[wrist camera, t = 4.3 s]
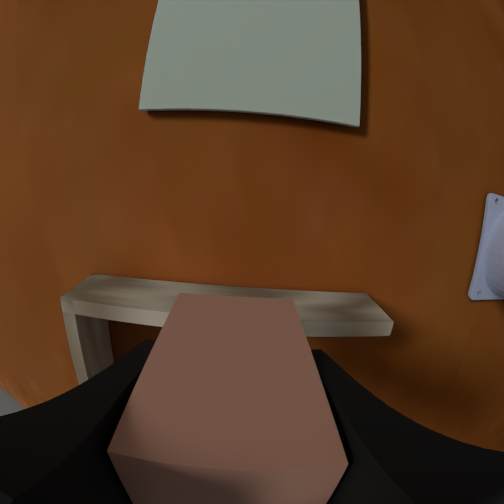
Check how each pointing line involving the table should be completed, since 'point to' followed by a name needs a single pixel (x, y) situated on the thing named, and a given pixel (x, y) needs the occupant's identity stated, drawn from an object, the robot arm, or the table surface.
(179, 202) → the table surface
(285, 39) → the mat
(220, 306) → the terracotta block
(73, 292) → the slot housing
